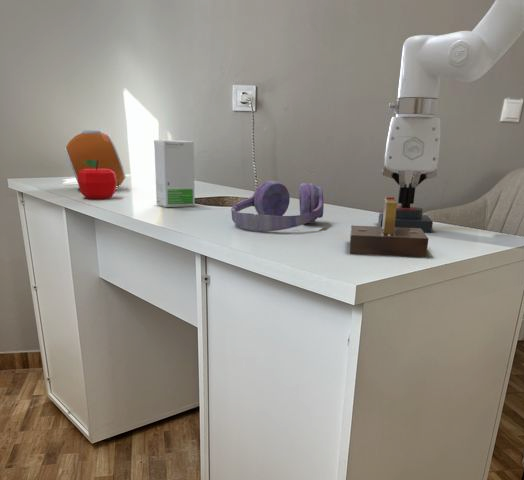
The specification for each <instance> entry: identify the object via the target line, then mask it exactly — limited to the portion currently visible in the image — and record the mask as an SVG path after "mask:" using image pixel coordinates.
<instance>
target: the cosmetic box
mask: <svg viewBox="0 0 524 480" xmlns="http://www.w3.org/2000/svg"><path fill="white" fill-rule="evenodd" d="M194 143H195V142H194V141H192V140H174V139H173V140H171V139H170V140H169V139H154V140H153V146H154V164H155V165H154V168H155V169H154V170H155V196H156V198H155V199H156V206H160V207H163V208H182V207H183V208H184V207H187V208H188V207H195V205H196V202H195V201H196V200H195V199H196V198H195V197H196V196H195V146H194V145H195V144H194Z"/></svg>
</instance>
